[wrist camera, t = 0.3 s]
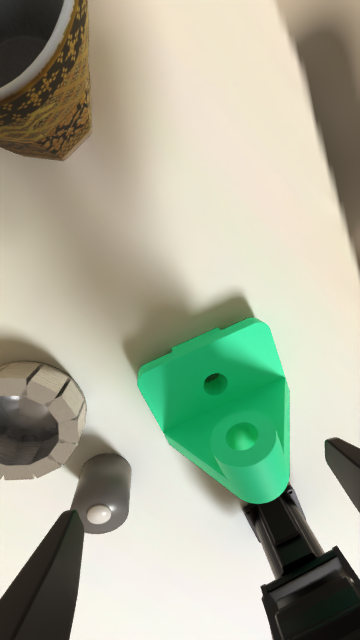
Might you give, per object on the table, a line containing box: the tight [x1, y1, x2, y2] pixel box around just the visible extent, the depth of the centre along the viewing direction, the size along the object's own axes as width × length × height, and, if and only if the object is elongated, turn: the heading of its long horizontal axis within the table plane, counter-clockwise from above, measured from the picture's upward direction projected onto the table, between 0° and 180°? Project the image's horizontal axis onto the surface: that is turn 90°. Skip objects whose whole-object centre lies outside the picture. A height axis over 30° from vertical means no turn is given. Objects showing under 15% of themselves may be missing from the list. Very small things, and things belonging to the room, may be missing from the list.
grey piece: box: [0, 361, 87, 480], centre depth 20 cm, size 10×10×3 cm
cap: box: [70, 454, 131, 534], centre depth 23 cm, size 5×5×4 cm
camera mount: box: [137, 317, 290, 504], centre depth 18 cm, size 12×8×10 cm, turn 113°
